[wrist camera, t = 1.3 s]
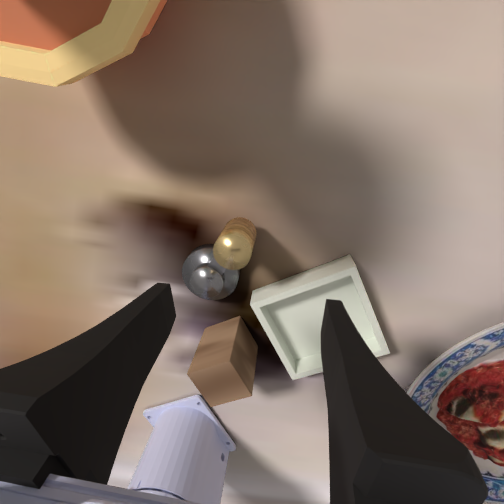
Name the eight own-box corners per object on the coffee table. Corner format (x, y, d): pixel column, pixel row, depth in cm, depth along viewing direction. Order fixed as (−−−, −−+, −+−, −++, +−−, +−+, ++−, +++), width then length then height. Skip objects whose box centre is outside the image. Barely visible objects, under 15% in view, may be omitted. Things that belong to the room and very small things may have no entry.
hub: (249, 282, 27) (248, 289, 26) (203, 300, 28) (199, 307, 27) (224, 235, 25) (221, 240, 24) (176, 256, 27) (171, 262, 25)
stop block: (257, 346, 30) (251, 395, 24) (223, 357, 31) (210, 406, 25) (240, 315, 28) (229, 360, 23) (205, 328, 29) (187, 373, 24)
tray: (382, 336, 28) (390, 353, 25) (291, 362, 30) (292, 380, 28) (349, 254, 25) (355, 266, 23) (252, 290, 27) (250, 304, 25)
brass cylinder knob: (214, 296, 26) (203, 324, 22) (187, 280, 26) (171, 305, 22) (263, 230, 23) (259, 249, 19) (234, 210, 23) (224, 226, 19)
